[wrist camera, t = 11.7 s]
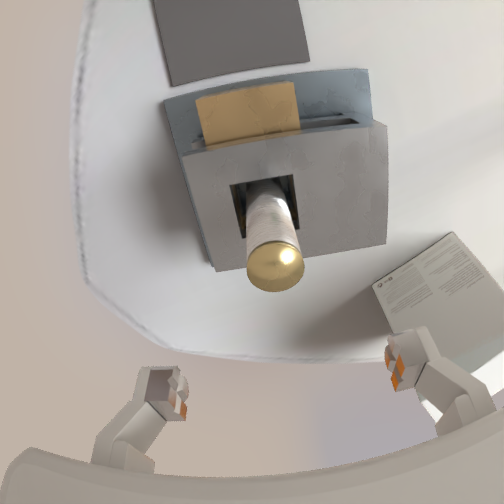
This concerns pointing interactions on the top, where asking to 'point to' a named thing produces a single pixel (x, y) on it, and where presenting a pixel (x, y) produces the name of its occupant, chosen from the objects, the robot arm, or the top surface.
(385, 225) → the grey layered square block
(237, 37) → the mat
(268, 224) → the pin
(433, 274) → the supplement box
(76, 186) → the top surface
